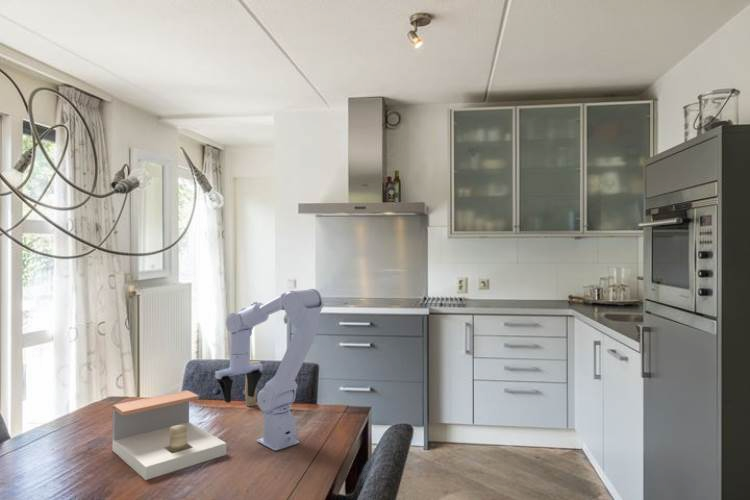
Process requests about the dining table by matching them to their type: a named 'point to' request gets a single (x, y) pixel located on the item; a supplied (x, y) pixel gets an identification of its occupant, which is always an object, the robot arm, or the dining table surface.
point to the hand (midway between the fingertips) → (239, 399)
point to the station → (160, 435)
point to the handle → (249, 400)
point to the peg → (178, 438)
